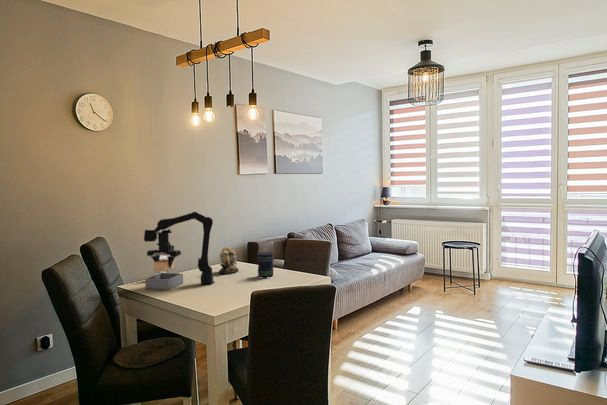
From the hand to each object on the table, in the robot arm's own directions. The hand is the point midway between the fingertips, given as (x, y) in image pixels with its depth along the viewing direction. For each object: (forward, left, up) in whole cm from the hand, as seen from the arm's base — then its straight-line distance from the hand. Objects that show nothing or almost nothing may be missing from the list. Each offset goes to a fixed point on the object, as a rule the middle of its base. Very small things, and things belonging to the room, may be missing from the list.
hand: (164, 267), depth 238 cm
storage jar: (-51, -33, -11) cm, 62 cm away
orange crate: (0, 0, -1) cm, 1 cm away
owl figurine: (-22, -42, -11) cm, 49 cm away
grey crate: (0, 0, -11) cm, 11 cm away
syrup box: (+12, -16, -11) cm, 23 cm away
